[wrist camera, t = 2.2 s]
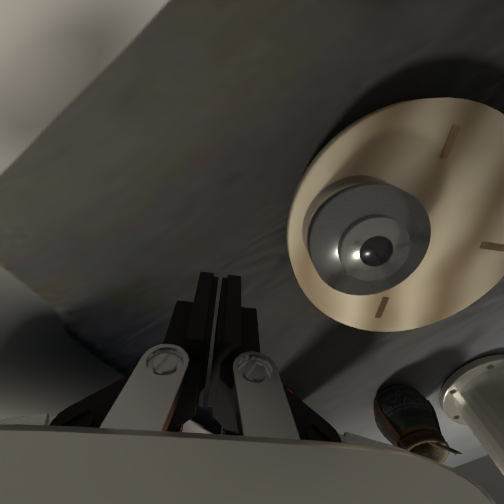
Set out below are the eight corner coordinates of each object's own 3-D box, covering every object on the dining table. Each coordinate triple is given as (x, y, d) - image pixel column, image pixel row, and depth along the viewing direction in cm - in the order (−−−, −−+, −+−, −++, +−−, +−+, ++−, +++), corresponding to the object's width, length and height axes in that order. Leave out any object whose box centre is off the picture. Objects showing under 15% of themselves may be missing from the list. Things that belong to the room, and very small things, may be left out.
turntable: (572, 123, 25) (599, 124, 23) (456, 329, 34) (468, 342, 32) (317, 75, 23) (324, 72, 21) (267, 308, 32) (269, 320, 30)
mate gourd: (359, 411, 42) (391, 492, 33) (379, 371, 39) (420, 449, 30) (406, 417, 43) (450, 498, 34) (429, 378, 40) (484, 456, 31)
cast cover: (421, 184, 25) (461, 200, 20) (384, 277, 28) (411, 309, 24) (316, 167, 24) (333, 180, 19) (292, 265, 28) (302, 296, 23)
